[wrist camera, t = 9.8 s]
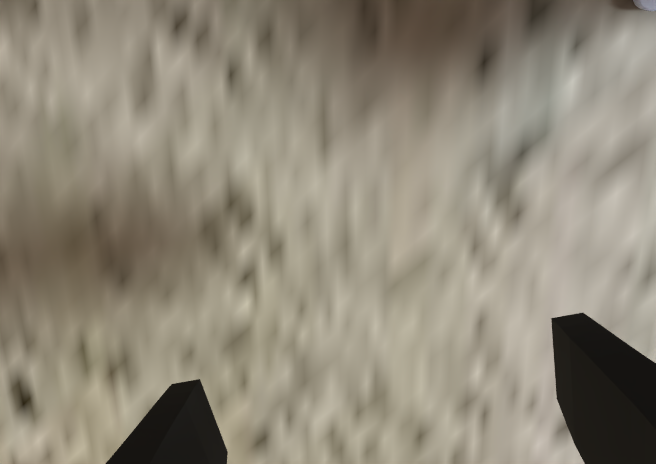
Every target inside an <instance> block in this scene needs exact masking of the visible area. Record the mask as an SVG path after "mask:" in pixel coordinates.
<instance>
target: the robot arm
mask: <svg viewBox="0 0 656 464" xmlns="http://www.w3.org/2000/svg"><path fill="white" fill-rule="evenodd" d="M633 1H634V3H635V5H636V6H637V7H638V8H640V9H643V10H648V11H656V0H633ZM551 319H552V334H553V348H554V363H555V378H556V393H557V400H558V403H559V405H560V408H561V411H562V413H563V416H564V418H565V421H566V424H567V426H568V429H569V431H570V434H571V436H572V439H573V441H574V443H575V446H576V448H577V449H578V451H579V453H580V455H581V457H582V459H583V461H584V463H585V464H656V363H654V362H653V361H651V360H650V359H648V358H647V357H645V356H644V355H642V354H641V353H639V352H638V351H637V350H635V349H634V348H632V347H631V346H629V345H628V344H627V343H625V342H624V341H622V340H621V339H619V338H618V337H617V336H615V335H614V334H612V333H611V332H610V331H608V330H607V329H605V328H604V327H603V326H601V325H600V324H598V323H597V322H596V321H594V320H593V319H591V318H590V317H588V316H587V315H586V314H584V313H579V314H573V315H567V316H562V317H556V318H551ZM106 464H227V449H226V447H225V444H224V441H223V439H222V436H221V434H220V431H219V428H218V426H217V423H216V420H215V418H214V415H213V413H212V410H211V407H210V405H209V402H208V399H207V397H206V394H205V392H204V389H203V386H202V384H201V381H200V379H199V380H193V381H187V382H181V383H176V384H172V385H171V386H170V387H169V388H168V389H167V390H166V391H165V393H164V394H163V395H162V396H161V397H160V399H159V400H158V401H157V402H156V403H155V405H154V406H153V407H152V408H151V410H150V411H149V412H148V413H147V415H146V416H145V417H144V418H143V419H142V421H141V422H140V423H139V424H138V426H137V427H136V428H135V429H134V431H133V432H132V433H131V434H130V435H129V437H128V438H127V439H126V440H125V441H124V443H123V444H122V445H121V446H120V447H119V449H118V450H117V451H116V452H115V453H114V455H113V456H112V457H111V458H110V459H109V460H108V461H107V463H106Z"/></svg>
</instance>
